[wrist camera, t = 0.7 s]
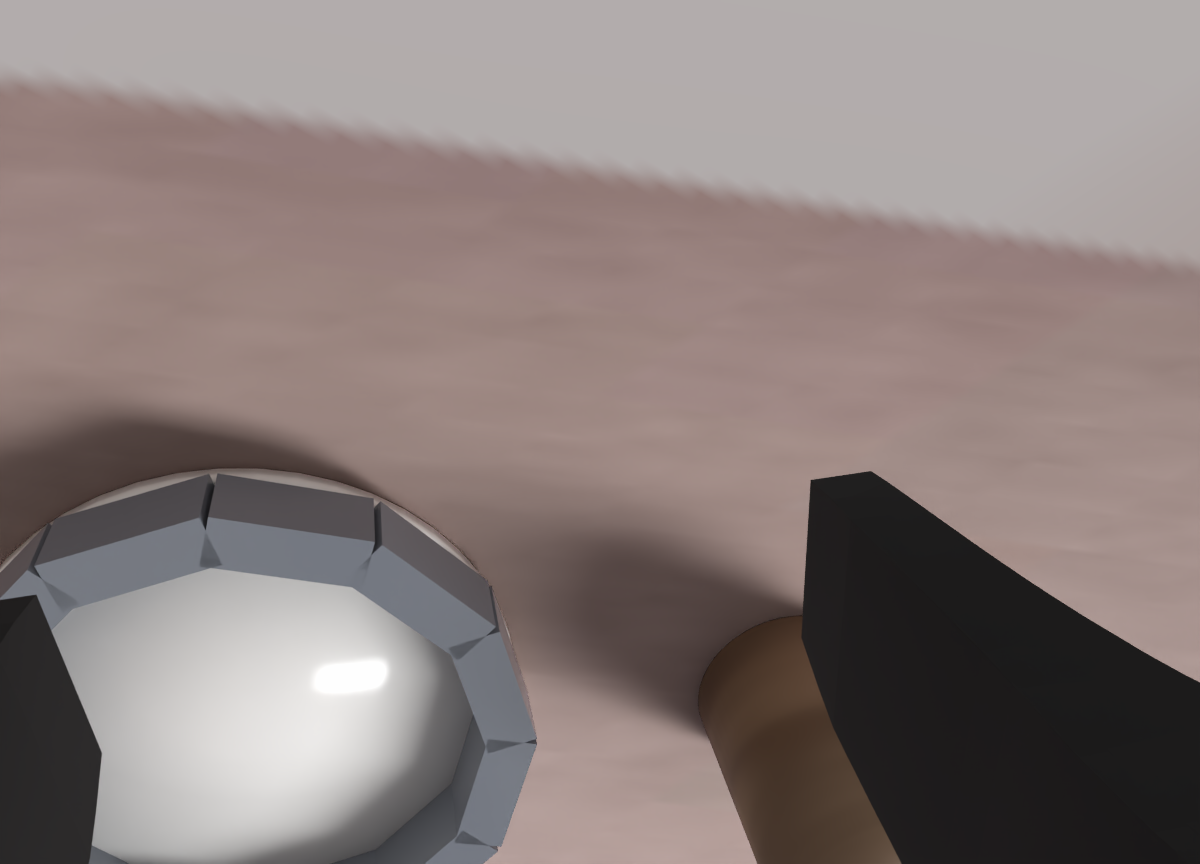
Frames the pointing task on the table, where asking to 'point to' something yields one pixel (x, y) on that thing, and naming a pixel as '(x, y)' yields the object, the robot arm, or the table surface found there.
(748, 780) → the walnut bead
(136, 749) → the ring dish
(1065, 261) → the table surface
